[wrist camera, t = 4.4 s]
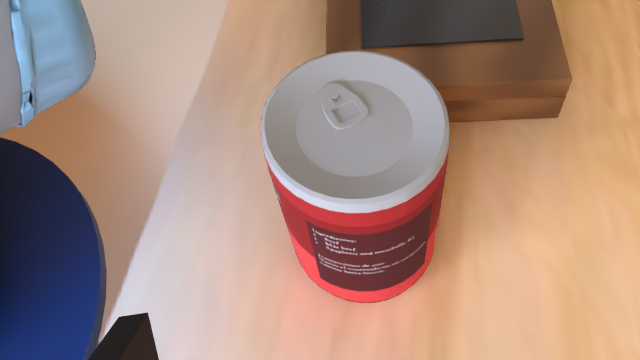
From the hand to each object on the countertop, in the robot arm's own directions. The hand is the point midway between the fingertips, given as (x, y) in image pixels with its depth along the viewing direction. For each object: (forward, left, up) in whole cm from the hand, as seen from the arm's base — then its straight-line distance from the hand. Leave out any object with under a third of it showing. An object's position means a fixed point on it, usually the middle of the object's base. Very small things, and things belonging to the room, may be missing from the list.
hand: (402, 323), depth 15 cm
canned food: (-1, +10, -15) cm, 18 cm away
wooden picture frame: (+4, +26, -15) cm, 30 cm away
